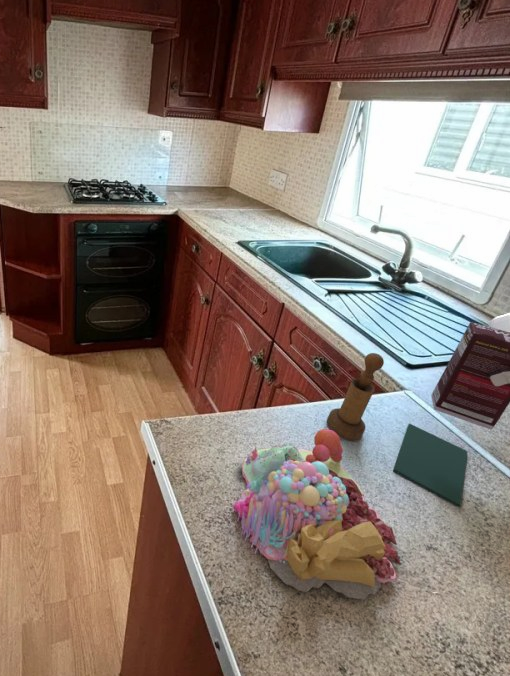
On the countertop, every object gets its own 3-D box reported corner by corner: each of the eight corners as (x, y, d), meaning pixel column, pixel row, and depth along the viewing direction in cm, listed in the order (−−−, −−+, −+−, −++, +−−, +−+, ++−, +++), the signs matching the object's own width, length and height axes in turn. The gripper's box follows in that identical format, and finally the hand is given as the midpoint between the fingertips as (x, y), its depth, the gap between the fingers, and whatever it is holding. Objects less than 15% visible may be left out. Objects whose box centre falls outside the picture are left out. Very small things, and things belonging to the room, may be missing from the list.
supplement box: (486, 414, 71) (535, 338, 64) (492, 431, 67) (545, 352, 60) (429, 394, 74) (469, 320, 67) (431, 409, 70) (474, 332, 63)
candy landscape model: (432, 588, 55) (464, 548, 51) (277, 620, 50) (298, 577, 45) (322, 444, 76) (338, 407, 72) (206, 455, 71) (216, 416, 67)
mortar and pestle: (321, 426, 81) (351, 352, 73) (333, 411, 85) (363, 340, 77) (355, 446, 77) (391, 371, 69) (366, 430, 81) (402, 357, 73)
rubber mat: (408, 424, 84) (409, 423, 83) (466, 452, 78) (467, 451, 78) (392, 470, 72) (393, 469, 72) (459, 507, 67) (460, 505, 67)
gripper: (543, 289, 68) (451, 324, 75) (631, 353, 50) (500, 391, 57) (560, 318, 69) (467, 350, 76) (652, 391, 51) (521, 424, 58)
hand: (482, 368), depth 66 cm, fingers closed on supplement box, 5 cm apart
